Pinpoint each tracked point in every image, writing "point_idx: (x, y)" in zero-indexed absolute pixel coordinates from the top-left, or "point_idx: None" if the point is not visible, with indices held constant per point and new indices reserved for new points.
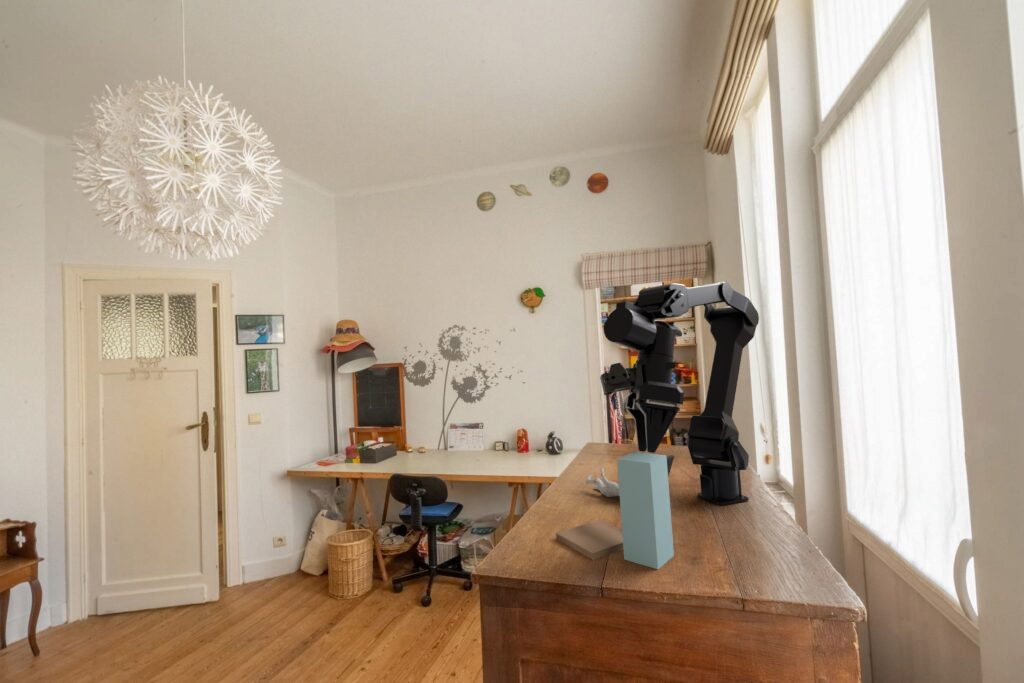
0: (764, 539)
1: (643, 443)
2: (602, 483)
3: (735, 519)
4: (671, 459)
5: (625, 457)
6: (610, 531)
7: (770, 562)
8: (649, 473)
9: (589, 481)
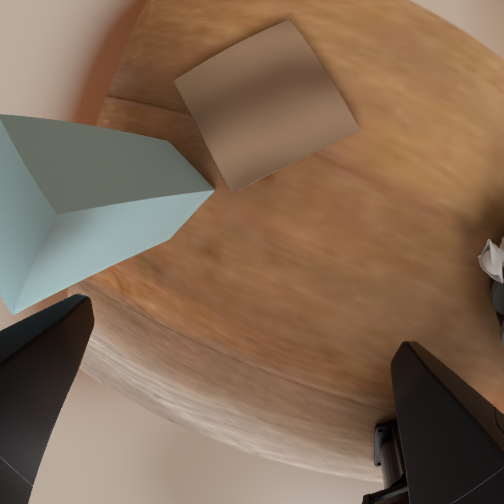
0: (214, 405)
1: (407, 387)
2: None
3: (306, 416)
4: None
5: (1, 150)
6: (275, 135)
7: (141, 362)
8: None
9: None
